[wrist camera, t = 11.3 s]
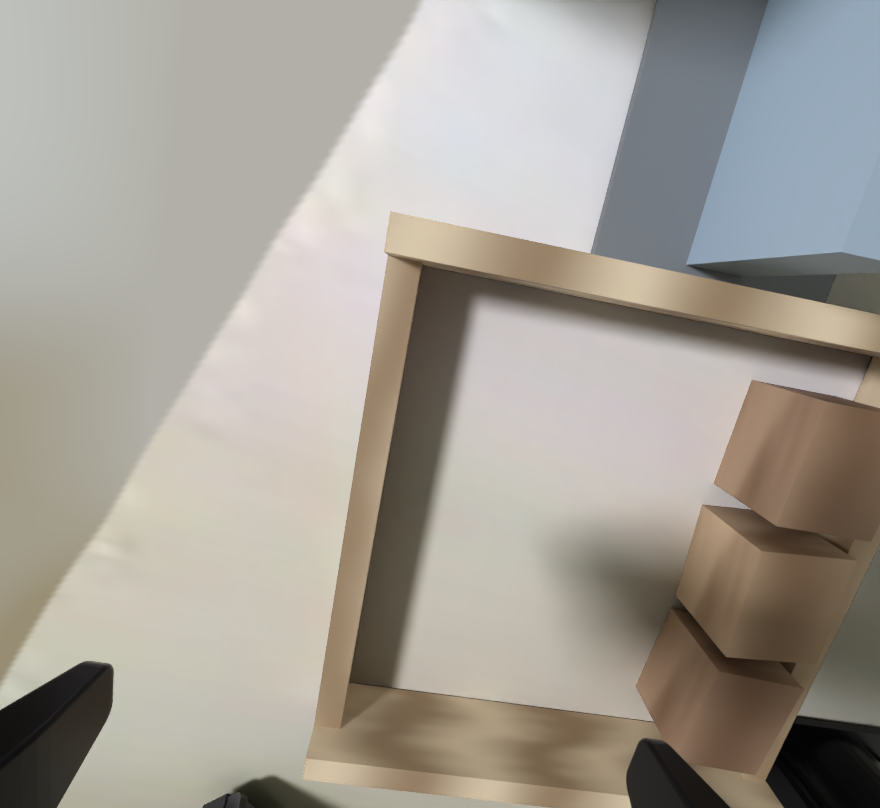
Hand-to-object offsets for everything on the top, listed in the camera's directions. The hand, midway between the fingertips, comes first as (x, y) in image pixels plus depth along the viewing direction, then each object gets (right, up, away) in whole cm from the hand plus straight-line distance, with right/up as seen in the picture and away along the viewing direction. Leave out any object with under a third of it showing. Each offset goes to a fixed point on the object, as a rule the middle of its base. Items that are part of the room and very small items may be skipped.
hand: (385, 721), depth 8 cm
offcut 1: (+16, +4, +13) cm, 21 cm away
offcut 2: (+15, -2, +15) cm, 21 cm away
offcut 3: (+14, -8, +16) cm, 23 cm away
